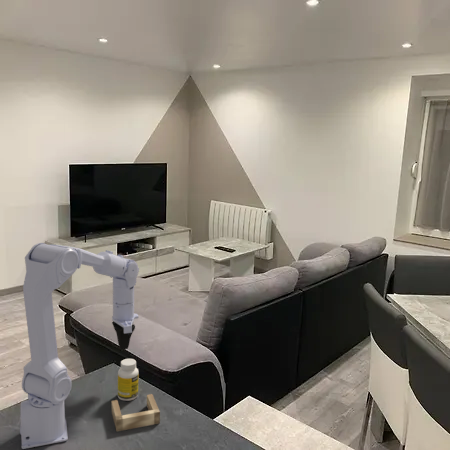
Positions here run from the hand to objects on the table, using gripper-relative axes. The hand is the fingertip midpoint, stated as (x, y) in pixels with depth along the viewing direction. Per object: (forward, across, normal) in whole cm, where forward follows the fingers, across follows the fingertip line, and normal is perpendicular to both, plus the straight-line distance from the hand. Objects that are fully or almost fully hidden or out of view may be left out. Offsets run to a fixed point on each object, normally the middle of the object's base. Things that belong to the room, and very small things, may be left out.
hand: (123, 347), depth 126 cm
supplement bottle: (+11, -8, 0) cm, 13 cm away
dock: (+10, -17, 0) cm, 20 cm away
